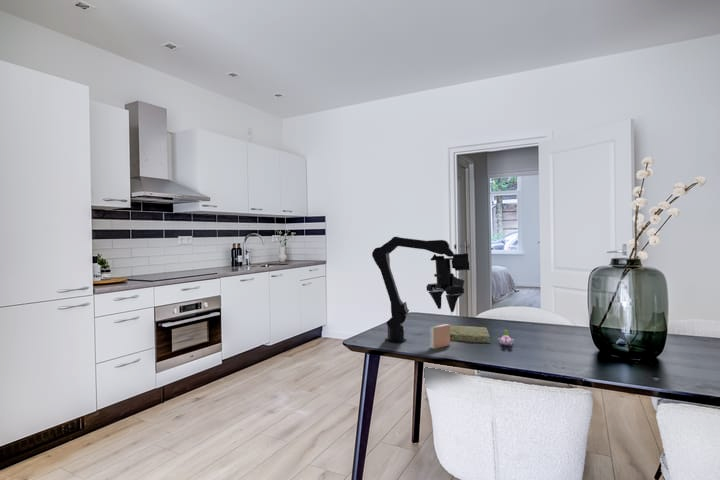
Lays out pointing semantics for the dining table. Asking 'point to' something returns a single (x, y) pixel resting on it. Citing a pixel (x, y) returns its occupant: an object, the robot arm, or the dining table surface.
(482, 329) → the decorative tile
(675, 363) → the dining table surface
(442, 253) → the robot arm
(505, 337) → the pink bulbous piece
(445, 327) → the standing tile
